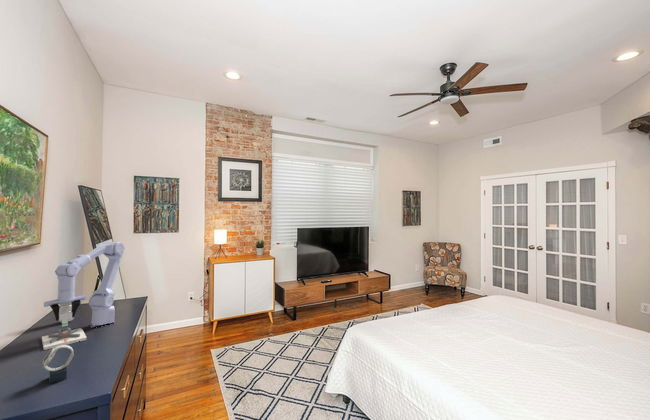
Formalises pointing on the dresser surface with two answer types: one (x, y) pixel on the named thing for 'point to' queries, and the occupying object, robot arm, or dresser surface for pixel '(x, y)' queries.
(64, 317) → the column
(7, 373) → the dresser surface
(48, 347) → the stand base
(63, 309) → the silver twisted sculpture
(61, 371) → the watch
